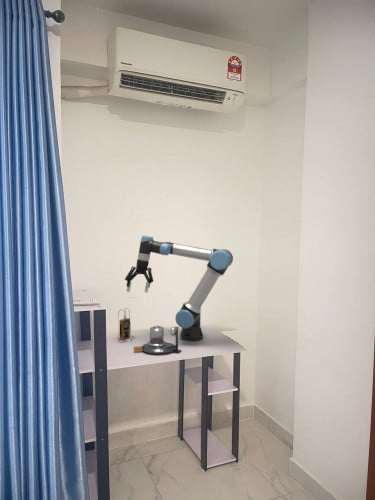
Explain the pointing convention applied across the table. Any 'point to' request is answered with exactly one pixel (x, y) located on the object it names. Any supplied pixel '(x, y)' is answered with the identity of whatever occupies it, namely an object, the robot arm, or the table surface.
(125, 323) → the multimeter
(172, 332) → the indicator
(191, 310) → the robot arm
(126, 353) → the table surface
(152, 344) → the cover
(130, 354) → the table surface
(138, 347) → the turntable
